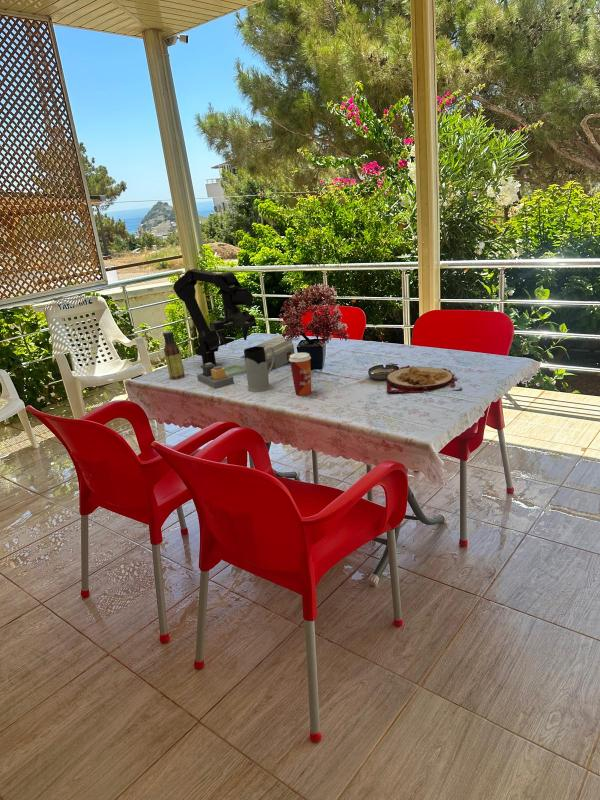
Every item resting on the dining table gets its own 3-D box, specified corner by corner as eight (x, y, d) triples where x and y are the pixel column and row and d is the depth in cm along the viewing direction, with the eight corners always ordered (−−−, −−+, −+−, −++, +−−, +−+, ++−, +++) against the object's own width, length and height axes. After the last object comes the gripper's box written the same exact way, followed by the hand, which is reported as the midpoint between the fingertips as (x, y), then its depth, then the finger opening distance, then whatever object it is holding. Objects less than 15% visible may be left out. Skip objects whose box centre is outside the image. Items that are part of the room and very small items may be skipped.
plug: (213, 384, 216) (210, 367, 213) (222, 381, 218) (219, 364, 215) (217, 386, 213) (215, 369, 210) (226, 383, 215) (224, 366, 212)
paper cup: (307, 397, 191) (303, 358, 186) (288, 395, 195) (284, 357, 190) (318, 390, 197) (314, 352, 192) (300, 388, 201) (296, 351, 197)
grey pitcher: (242, 389, 207) (237, 351, 202) (268, 378, 216) (264, 341, 211) (259, 393, 201) (253, 353, 196) (285, 381, 211) (280, 343, 206)
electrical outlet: (306, 356, 240) (302, 334, 236) (260, 379, 221) (255, 356, 218) (286, 353, 248) (282, 332, 244) (240, 376, 229) (235, 353, 225)
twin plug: (204, 380, 222) (201, 363, 220) (213, 377, 224) (210, 361, 222) (208, 382, 219) (206, 365, 216) (217, 379, 221) (215, 363, 218)
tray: (214, 373, 231) (213, 369, 230) (237, 367, 237) (236, 363, 236) (226, 378, 222) (225, 374, 222) (250, 372, 228) (249, 368, 227)
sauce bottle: (188, 376, 231) (179, 329, 225) (179, 381, 226) (170, 333, 220) (175, 375, 234) (167, 329, 228) (166, 380, 229) (157, 333, 222)
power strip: (198, 381, 223) (196, 374, 222) (215, 376, 227) (214, 369, 226) (215, 389, 210) (214, 382, 209) (234, 384, 214) (233, 377, 213)
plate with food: (387, 397, 186) (386, 387, 185) (385, 371, 211) (385, 362, 210) (462, 394, 183) (462, 384, 181) (452, 368, 207) (452, 359, 206)
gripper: (218, 311, 212) (224, 350, 217) (260, 302, 221) (264, 340, 227) (205, 308, 221) (211, 346, 226) (246, 300, 230) (251, 336, 235)
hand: (235, 342), depth 228 cm, fingers open, 9 cm apart
